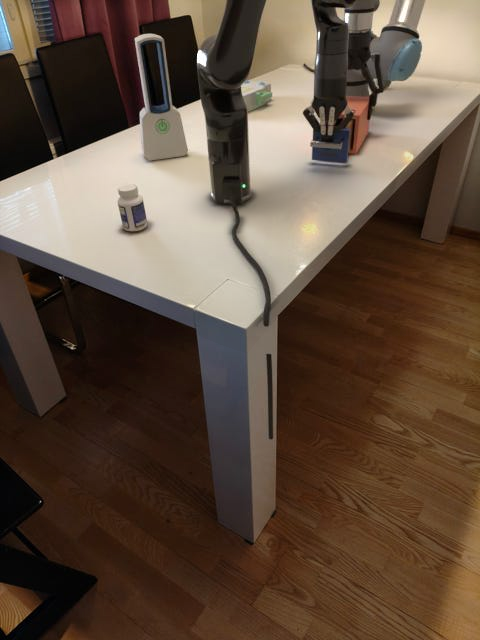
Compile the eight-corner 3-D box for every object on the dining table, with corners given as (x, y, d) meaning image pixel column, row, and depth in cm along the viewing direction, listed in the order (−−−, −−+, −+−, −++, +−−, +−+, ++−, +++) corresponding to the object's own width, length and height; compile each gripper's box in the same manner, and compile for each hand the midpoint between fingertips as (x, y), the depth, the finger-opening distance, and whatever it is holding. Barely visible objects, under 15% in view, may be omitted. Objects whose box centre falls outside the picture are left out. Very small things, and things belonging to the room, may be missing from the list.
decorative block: (236, 77, 186) (280, 82, 177) (237, 95, 190) (280, 101, 181) (193, 93, 170) (239, 99, 161) (195, 112, 174) (240, 119, 165)
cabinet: (355, 154, 134) (359, 115, 127) (318, 151, 137) (320, 113, 131) (368, 132, 148) (372, 97, 141) (333, 130, 151) (336, 95, 145)
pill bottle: (149, 220, 107) (142, 181, 102) (146, 231, 103) (138, 191, 98) (125, 221, 107) (116, 182, 102) (121, 232, 103) (112, 193, 98)
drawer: (342, 170, 122) (344, 137, 117) (306, 167, 125) (307, 135, 120) (359, 141, 139) (362, 111, 134) (327, 138, 142) (329, 109, 137)
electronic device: (145, 161, 137) (124, 39, 118) (142, 153, 142) (122, 35, 124) (188, 155, 139) (175, 34, 121) (184, 147, 145) (170, 31, 126)
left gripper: (362, 70, 112) (356, 145, 123) (307, 69, 117) (305, 142, 128) (356, 78, 107) (350, 156, 118) (298, 76, 111) (297, 152, 122)
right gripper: (403, 28, 129) (391, 115, 142) (318, 28, 136) (314, 111, 149) (399, 32, 123) (388, 123, 137) (311, 32, 131) (308, 118, 144)
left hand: (326, 148), depth 123 cm, fingers closed
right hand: (349, 117), depth 143 cm, fingers closed on cabinet, 10 cm apart
